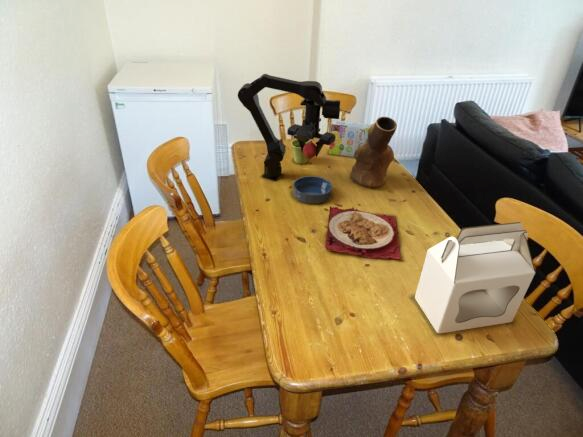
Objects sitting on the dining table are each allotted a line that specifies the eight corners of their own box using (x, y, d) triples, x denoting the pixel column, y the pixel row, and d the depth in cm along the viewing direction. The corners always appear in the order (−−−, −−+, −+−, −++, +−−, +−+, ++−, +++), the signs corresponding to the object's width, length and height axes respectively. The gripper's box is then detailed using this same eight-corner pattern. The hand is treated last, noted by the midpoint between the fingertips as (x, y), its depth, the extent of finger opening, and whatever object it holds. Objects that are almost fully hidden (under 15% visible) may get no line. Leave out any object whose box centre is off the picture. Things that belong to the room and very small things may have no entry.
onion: (301, 155, 168) (302, 137, 163) (315, 155, 168) (317, 137, 164) (303, 162, 163) (304, 143, 158) (317, 162, 163) (318, 143, 159)
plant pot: (311, 166, 181) (312, 148, 176) (290, 165, 181) (290, 147, 176) (311, 157, 189) (312, 139, 184) (290, 156, 189) (291, 138, 184)
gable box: (436, 334, 104) (466, 247, 89) (413, 297, 115) (435, 214, 99) (513, 322, 109) (554, 237, 93) (483, 288, 119) (516, 206, 104)
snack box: (374, 155, 192) (379, 124, 184) (373, 160, 188) (378, 129, 180) (329, 149, 196) (332, 119, 188) (328, 154, 192) (330, 123, 183)
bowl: (285, 197, 158) (285, 188, 156) (304, 181, 169) (304, 172, 167) (320, 208, 152) (321, 199, 150) (337, 191, 163) (338, 182, 161)
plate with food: (324, 253, 130) (325, 245, 128) (329, 209, 151) (330, 201, 149) (400, 263, 128) (402, 254, 126) (394, 216, 149) (396, 208, 147)
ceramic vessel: (383, 171, 179) (395, 103, 162) (395, 197, 161) (410, 124, 144) (347, 171, 178) (355, 102, 161) (355, 196, 160) (365, 123, 143)
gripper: (280, 117, 154) (279, 155, 162) (324, 128, 146) (321, 168, 155) (295, 109, 162) (293, 146, 171) (338, 119, 154) (334, 157, 163)
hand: (309, 154), depth 164 cm, fingers closed on onion, 6 cm apart
